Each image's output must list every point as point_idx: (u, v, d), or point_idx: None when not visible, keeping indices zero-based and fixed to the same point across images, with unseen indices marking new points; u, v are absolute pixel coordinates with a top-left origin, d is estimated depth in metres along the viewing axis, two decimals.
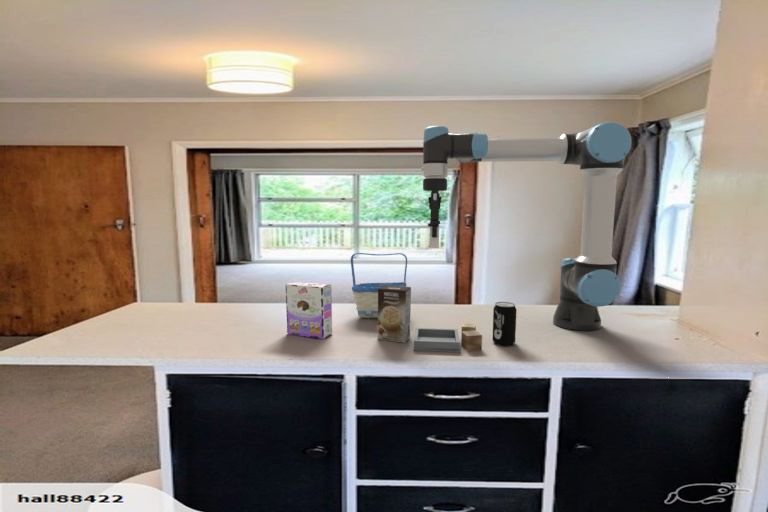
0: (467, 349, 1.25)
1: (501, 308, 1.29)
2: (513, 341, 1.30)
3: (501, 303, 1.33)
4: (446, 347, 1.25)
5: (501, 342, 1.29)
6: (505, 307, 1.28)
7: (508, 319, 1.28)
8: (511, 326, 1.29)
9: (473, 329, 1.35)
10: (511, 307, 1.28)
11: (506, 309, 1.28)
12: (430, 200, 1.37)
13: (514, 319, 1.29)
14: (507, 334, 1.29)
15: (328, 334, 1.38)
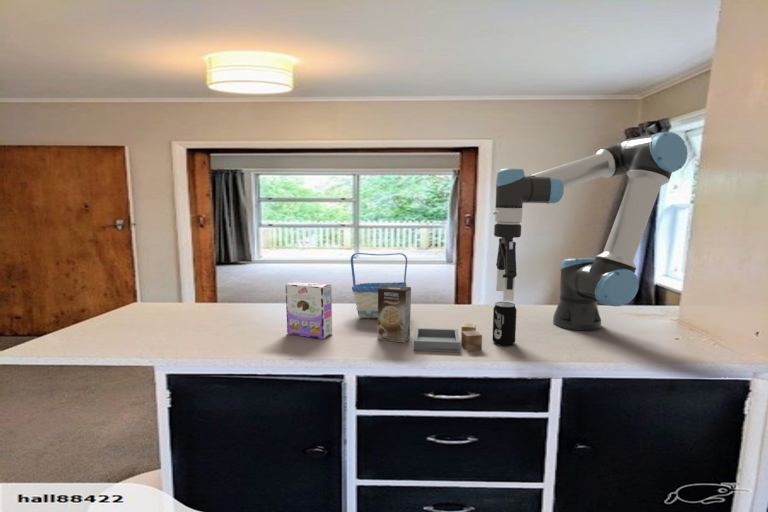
0: (467, 349, 1.25)
1: (501, 308, 1.29)
2: (513, 341, 1.30)
3: (501, 303, 1.33)
4: (446, 347, 1.25)
5: (501, 342, 1.29)
6: (505, 307, 1.28)
7: (508, 319, 1.28)
8: (511, 326, 1.29)
9: (473, 329, 1.35)
10: (511, 307, 1.28)
11: (506, 309, 1.28)
12: (503, 247, 1.26)
13: (514, 319, 1.29)
14: (507, 334, 1.29)
15: (328, 334, 1.38)
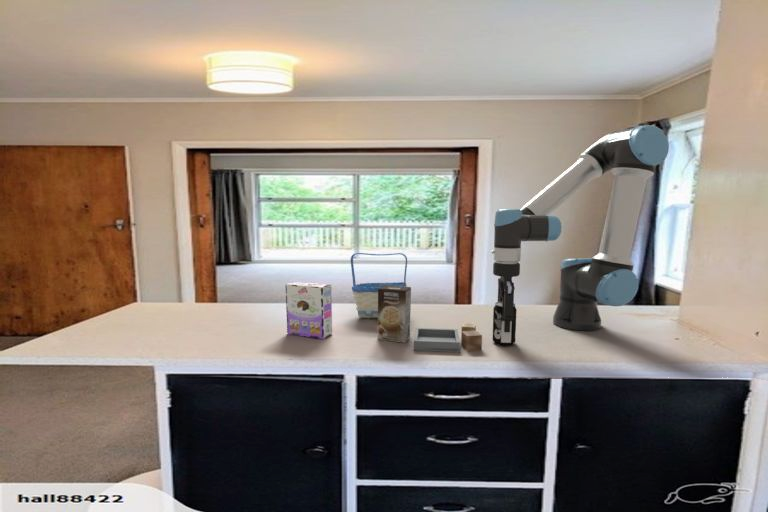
0: (467, 349, 1.26)
1: (501, 308, 1.29)
2: (513, 341, 1.30)
3: (501, 303, 1.33)
4: (446, 347, 1.25)
5: (501, 342, 1.29)
6: None
7: None
8: None
9: (473, 329, 1.35)
10: None
11: None
12: (502, 287, 1.28)
13: (514, 319, 1.29)
14: None
15: (328, 334, 1.38)
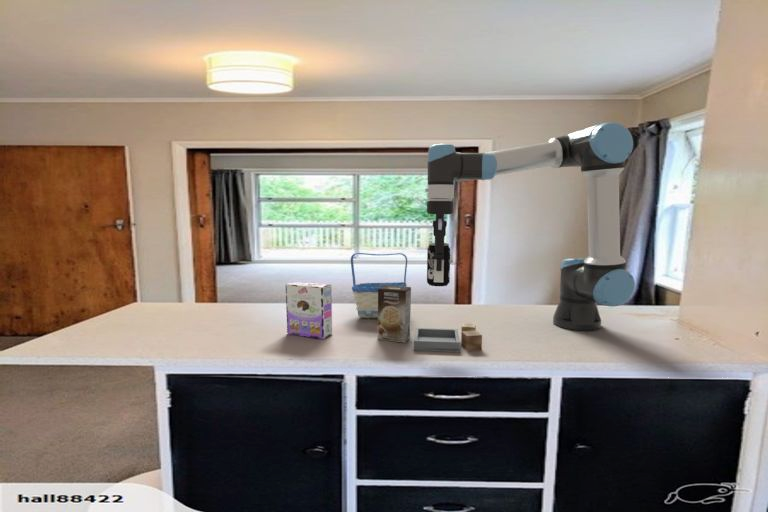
0: (467, 349, 1.26)
1: (434, 247, 1.26)
2: (446, 281, 1.27)
3: None
4: (446, 347, 1.25)
5: (433, 282, 1.26)
6: None
7: None
8: (444, 265, 1.26)
9: (473, 329, 1.35)
10: (444, 246, 1.25)
11: None
12: (435, 226, 1.25)
13: (447, 258, 1.26)
14: None
15: (328, 334, 1.38)
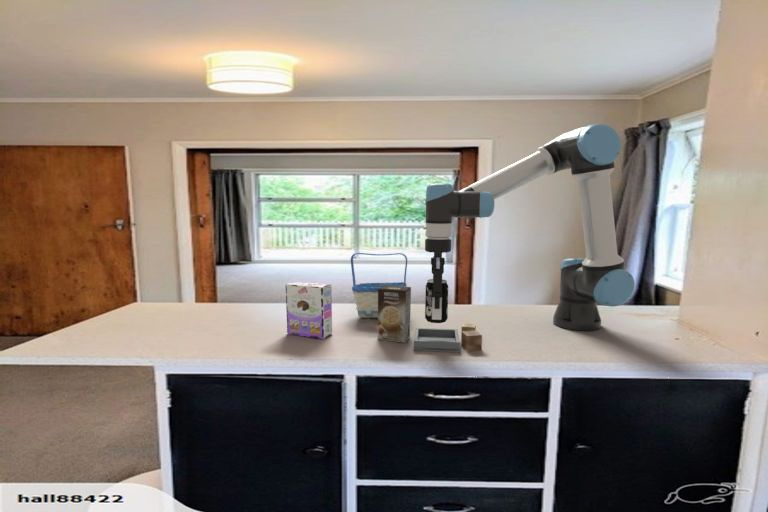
0: (467, 349, 1.26)
1: (432, 284, 1.27)
2: (444, 318, 1.28)
3: None
4: (446, 347, 1.25)
5: (432, 319, 1.28)
6: None
7: None
8: (442, 303, 1.27)
9: (473, 329, 1.35)
10: (442, 283, 1.27)
11: None
12: (433, 264, 1.27)
13: (445, 296, 1.27)
14: None
15: (328, 334, 1.38)
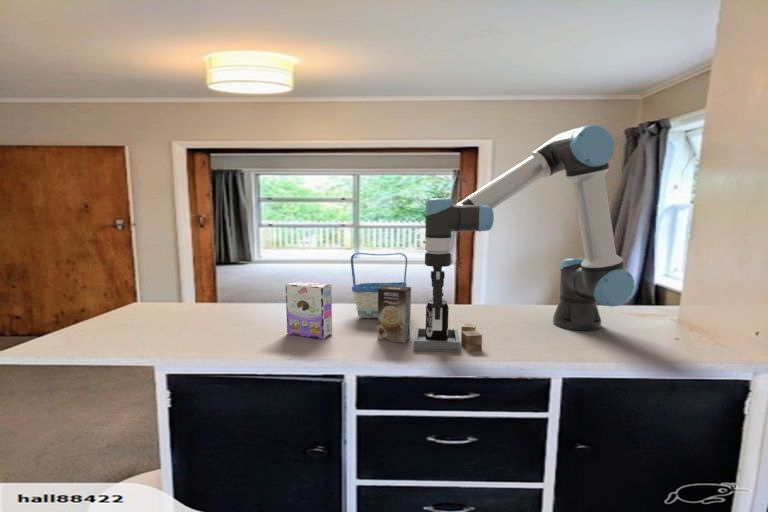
0: (467, 349, 1.26)
1: None
2: (445, 339, 1.29)
3: None
4: (446, 347, 1.25)
5: (432, 339, 1.28)
6: None
7: None
8: (442, 324, 1.28)
9: (473, 329, 1.35)
10: None
11: None
12: (433, 276, 1.27)
13: (445, 317, 1.28)
14: (438, 331, 1.28)
15: (328, 334, 1.38)
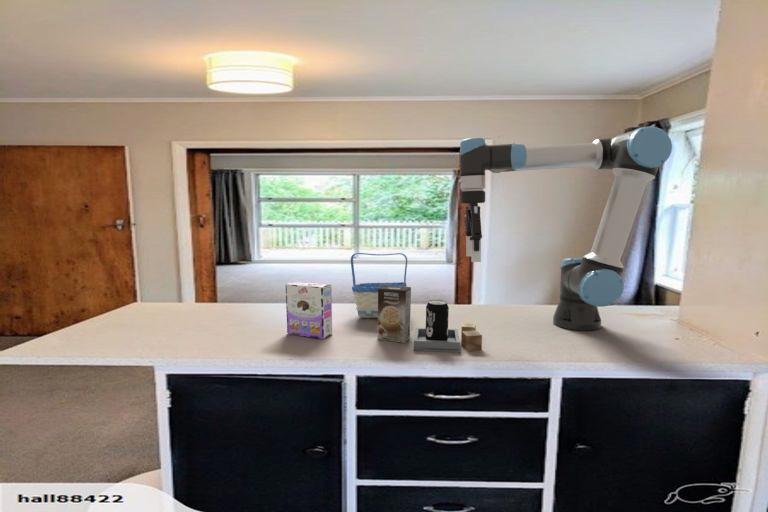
0: (467, 349, 1.26)
1: (432, 306, 1.28)
2: (445, 339, 1.29)
3: (434, 301, 1.32)
4: (446, 347, 1.25)
5: (432, 339, 1.28)
6: (436, 305, 1.27)
7: (439, 317, 1.27)
8: (442, 324, 1.28)
9: (473, 329, 1.35)
10: (442, 305, 1.28)
11: (437, 306, 1.27)
12: (469, 213, 1.35)
13: (445, 317, 1.28)
14: (438, 332, 1.28)
15: (328, 334, 1.38)
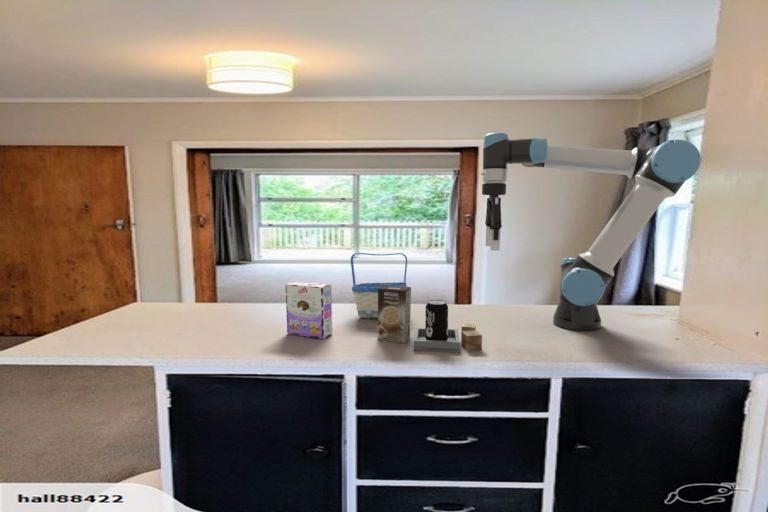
0: (467, 349, 1.26)
1: (431, 306, 1.28)
2: (444, 339, 1.29)
3: (434, 301, 1.32)
4: (446, 347, 1.25)
5: (432, 339, 1.29)
6: (435, 305, 1.27)
7: (438, 317, 1.27)
8: (442, 324, 1.28)
9: (473, 329, 1.35)
10: (441, 305, 1.28)
11: (436, 306, 1.27)
12: (490, 204, 1.42)
13: (445, 317, 1.28)
14: (437, 331, 1.28)
15: (328, 334, 1.38)
